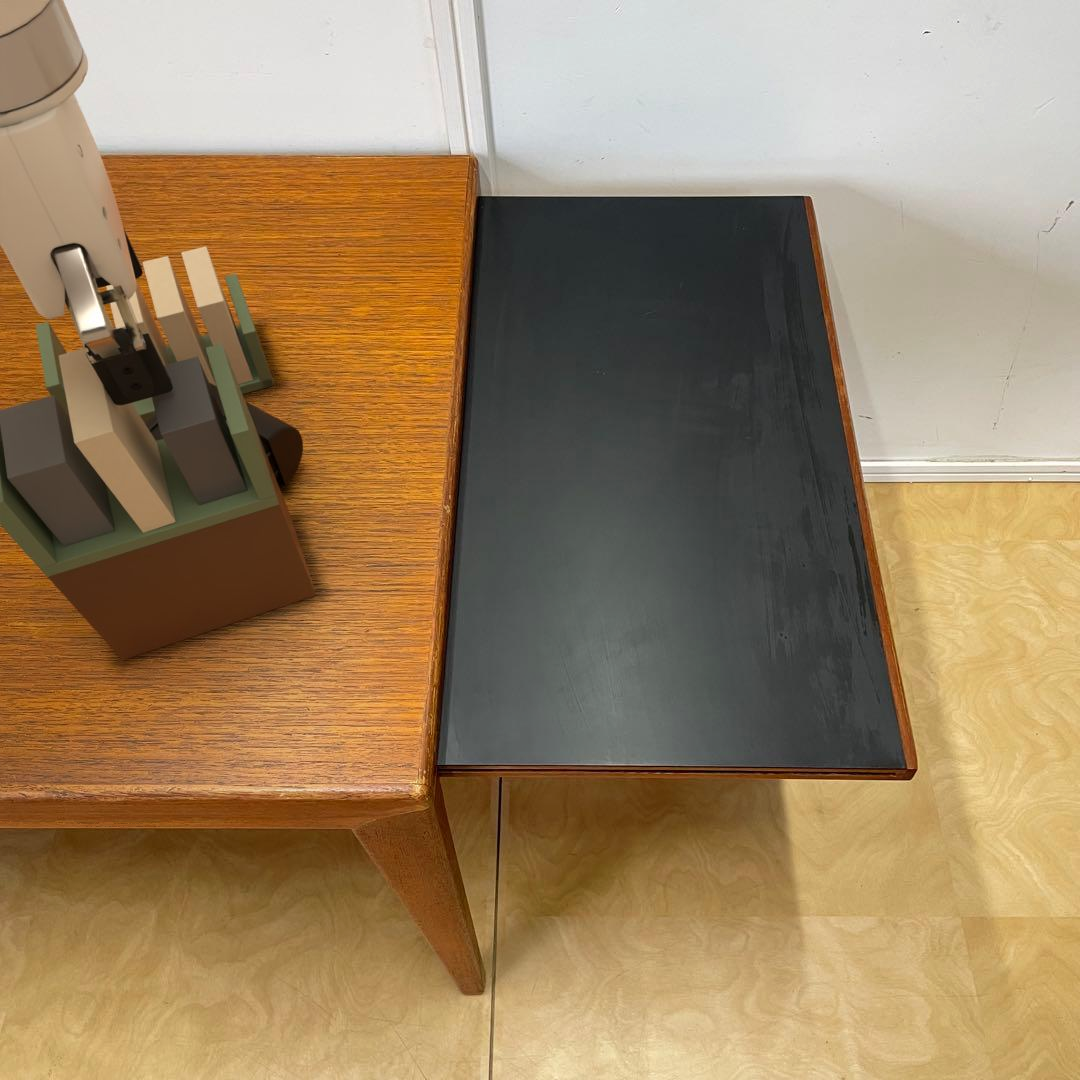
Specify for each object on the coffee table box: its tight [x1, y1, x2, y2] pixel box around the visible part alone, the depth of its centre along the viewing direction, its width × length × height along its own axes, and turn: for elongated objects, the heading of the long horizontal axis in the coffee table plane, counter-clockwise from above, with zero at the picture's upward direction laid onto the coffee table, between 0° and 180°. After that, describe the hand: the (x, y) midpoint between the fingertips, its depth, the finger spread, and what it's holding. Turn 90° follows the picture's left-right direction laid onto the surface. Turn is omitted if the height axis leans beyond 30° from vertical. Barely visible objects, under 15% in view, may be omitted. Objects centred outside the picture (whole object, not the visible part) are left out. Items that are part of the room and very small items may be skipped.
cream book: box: [59, 347, 176, 533], centre depth 53 cm, size 2×6×9 cm, turn 22°
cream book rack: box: [35, 245, 275, 423], centre depth 74 cm, size 16×7×10 cm, turn 112°
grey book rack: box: [0, 344, 317, 661], centre depth 59 cm, size 14×7×20 cm, turn 112°
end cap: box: [144, 383, 304, 492], centre depth 71 cm, size 10×7×7 cm
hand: (130, 335), depth 53 cm, fingers open, 9 cm apart
